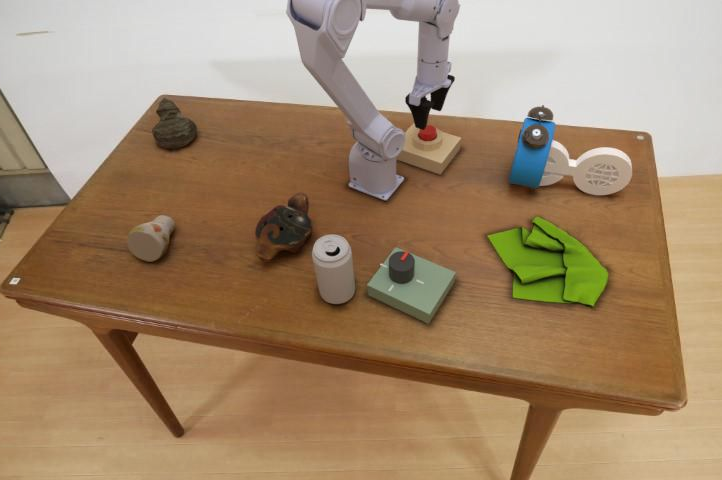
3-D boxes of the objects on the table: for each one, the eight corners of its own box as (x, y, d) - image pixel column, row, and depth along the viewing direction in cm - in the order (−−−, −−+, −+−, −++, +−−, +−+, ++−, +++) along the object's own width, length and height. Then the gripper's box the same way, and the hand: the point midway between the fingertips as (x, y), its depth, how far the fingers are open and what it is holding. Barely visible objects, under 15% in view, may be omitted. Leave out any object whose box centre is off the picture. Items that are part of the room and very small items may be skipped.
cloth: (608, 318, 80) (613, 310, 78) (475, 290, 84) (477, 281, 82) (608, 231, 92) (612, 222, 90) (492, 210, 96) (494, 202, 95)
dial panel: (366, 294, 85) (365, 283, 82) (394, 256, 90) (394, 245, 88) (428, 324, 80) (429, 313, 78) (454, 282, 86) (456, 271, 83)
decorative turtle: (328, 221, 96) (324, 194, 90) (290, 280, 89) (283, 254, 82) (286, 207, 99) (279, 179, 92) (246, 262, 91) (235, 236, 85)
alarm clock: (534, 202, 97) (553, 140, 85) (503, 196, 99) (518, 134, 87) (542, 162, 105) (561, 100, 93) (514, 157, 106) (529, 96, 95)
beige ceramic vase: (188, 224, 98) (172, 211, 88) (171, 270, 96) (153, 261, 86) (152, 214, 97) (132, 199, 88) (134, 259, 96) (113, 249, 86)
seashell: (203, 100, 115) (165, 96, 116) (177, 99, 104) (134, 95, 105) (204, 148, 119) (167, 144, 120) (179, 152, 108) (138, 148, 109)
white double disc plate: (620, 191, 98) (640, 151, 90) (620, 199, 97) (640, 159, 89) (510, 174, 103) (520, 135, 95) (509, 181, 102) (519, 141, 94)
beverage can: (328, 312, 83) (320, 268, 73) (314, 286, 86) (304, 241, 77) (361, 297, 84) (357, 252, 75) (346, 272, 88) (340, 226, 79)
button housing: (392, 158, 108) (392, 139, 104) (413, 134, 113) (413, 115, 109) (440, 175, 104) (442, 156, 100) (460, 149, 109) (462, 130, 105)
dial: (406, 287, 82) (407, 273, 79) (384, 277, 83) (383, 263, 80) (418, 270, 84) (419, 255, 81) (396, 260, 85) (396, 246, 82)
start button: (416, 138, 105) (416, 131, 103) (423, 130, 107) (424, 123, 105) (431, 143, 103) (431, 136, 102) (438, 134, 105) (439, 127, 104)
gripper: (434, 79, 86) (429, 142, 96) (468, 43, 93) (460, 106, 104) (399, 70, 88) (399, 132, 99) (435, 36, 96) (431, 97, 106)
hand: (428, 118), depth 101 cm, fingers open, 7 cm apart
